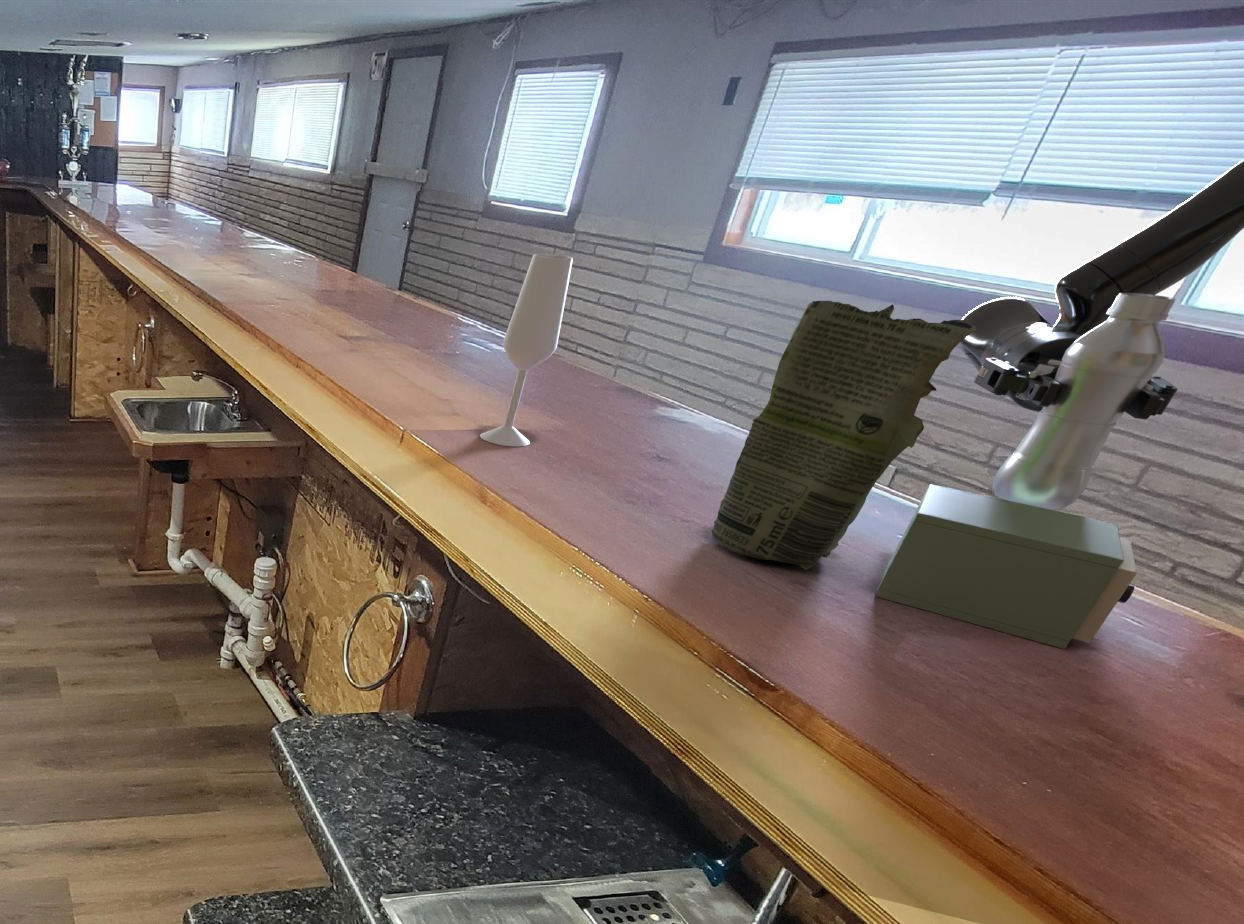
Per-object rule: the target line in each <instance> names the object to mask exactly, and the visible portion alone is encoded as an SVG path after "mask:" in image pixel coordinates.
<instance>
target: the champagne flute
mask: <svg viewBox="0 0 1244 924" xmlns="http://www.w3.org/2000/svg"><path fill="white" fill-rule="evenodd" d="M573 259H574V258H573V256H569V255H561V254H551V253H535V254H532V257H531V260H530V262H529V266H528V269H527V272H526V275H525V277H524V281H523V284H522V285H521V288H520V291H519V295H518V298H517V300H516V304H515V306H514V308H513V312H512V315H511V318H510V319H509V320H510V321H509V324H508V326H507V329H506V332H505V335H504V337H503V341H502V344H503V349H504V351H505V354H506V356H507V357H508V359H509V360H510V362H511V363H512V365H513V366H514V367H515V368H516V369H518V370H517V374H516V377H515V381H514V385H513V389H512V392H511V396H510V400H509V404H508V408H507V412H506V415H505V419H504V423H503V424H502V425H500V426H498V427H495V428H493V429H490V430H488V431H485V432H482V433H480V435H479V437H480V438H481V439H482V440H484V441H486V442H488V443H491V444H495V445H498V446H503V447H504V446H505V447H526V446H528V445H530V444H531V442H530V440H529V439H528V438H527V437H525V436H524V435H523V434H522V433H521V432H520V431H519V430H517V428H515V427H514V423H515V419H516V416H517V411H518V408H519V405H520V401H521V397H522V393H523V390H524V387H525V386H524V385H525V381H526V378H527V374H528V371H529V370H533V369H535V368H536V367H537V366H539V365H541V364H542V363H543V362H545V361H547V360H548V359H549V358H550V357H552V355H553V354H554V353H555V352H556V350H557V348H558V342H559V337H560V332H561V328H562V327H561V326H562V320H563V315H564V311H565V310H564V309H565V304H566V299H567V293H568V287H569V282H570V276H571V271H572V266H573V261H574V260H573Z"/></svg>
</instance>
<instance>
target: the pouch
mask: <svg viewBox="0 0 1244 924" xmlns="http://www.w3.org/2000/svg"><path fill="white" fill-rule="evenodd" d="M894 311H895V306H894V303H892V304H891V305H889V306H887V307H885V308H883V309H881V310H875V311H866V310H863V309H861V308H859V307H858V306H854V305H851V304H850V303H843V302H840V301H833V300H812V302H809V303H808V304H807V306H806V309H805V311H804V313H803V314H802V316H801V318H800V320H799V322H798V324H797V326H796V327H795V328H794V331H793V333H792V336H791V338H790V340H789V342H788V344H787V346H786V347H785V349H784V352H783V353H782V356H781V357H780V360H779V361H778V366H777V369H776V372H775V375H774V379H773V382H772V386H771V391H770V396H769V400H768V402H767V404H766V405H765V407H764V408H763V411H762V412H760V414H759V415H758V416H757V417H756V418H754V419H752V422H751V428H750V430H749V433H748V435H747V437H746V438H745V441H744V445H743V448H742V450H741V452H740V455H739V457H738V459H737V461H736V463H735V467H734V471H733V473H732V476H731V478H730V480H729V483H728V486H727V489H726V491H725V494H724V497H723V498H722V500H721V501H720V504H719V505H720V506H719V509H718V512H717V516H716V518H715V520H714V522H713V527H712V529H711V530H710V531H711V534H712V539H714V540H715V541H716V542H718V543H720V544H721V545H722V546H723V547H724V548H726V549H727V550H729V551H730V552H734V553H737V554H741V555H743V556H746V557H751V558H754V559H757V560H765V561H766V560H767V561H768V560H769V561H777V562H781V563H786V564H791V565H796V566H798V567H800V568H801V569H803V570H805V571H807V570H810V568H812V567H813V566H814V565H816V564H817V563H818V562H819V561H820V560H821V558H828V557H829V556H830V555H831V551H833V550H835V549H837V548H838V546H839V542H840V541H841V540H842V538H843V537H844V536H845V534H846V533H847V531H848V528H849V527H850V526H851V524H853V522H854V521H855V520H856V518H857V517H858V515H859V514H860V512H861V510H862V509H863V507H864V505H865V503H866V501H867V497H868V496H869V494H870V492H871V491H872V489H873V488H874V486H875V484H876V483H877V482H878V480H879V479H880V478H881V477H882V476H883V474H884V473H885V471H887V469H888V467H889V466H890V465H891V463H892V462H893V461H895V459H896V458H897V457H898V456H899V455H900V454H901V453H903V452H904V451H905V450H906V449H907V448H908V447H909V448H911V449H912V448H913V447H915V444H916V443H917V439H918V437H919V436H920V435H921V434H922V432H923V431H924V429H925V425H924V422H923V419H921V418H920V417H918V416H917V415H915V414H916V412H917V409H918V406H919V404H920V401H921V399H922V398H926V397H927V396H929V395H930V394H931V393H932V392H937V388H936V386H935V385H933V384H932V383H931V382H930V381H931V379H932V377H933V376H934V374H935V372H936V371H937V368H938V367H939V366H940V365H941V364H942V362H944V361H947V360H949V359H950V355H951V353H952V351H953V350H954V349H955V348H956V347H957V346H958V343H959V342H961V341H962V340H963V339H965V338H966V337H967V336H968V335H970V334H971V333H972V332H974V331H975V330H976V326H973V325H971V324H970V323H969V322H968V319H966V320H962V319H950V320H945V319H944V320H942V321H941V322H928V321H926V320H924V319H922V318H908V319H903V318H895V319H894V318H892V317H891V316H892V314H893V312H894Z"/></svg>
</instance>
